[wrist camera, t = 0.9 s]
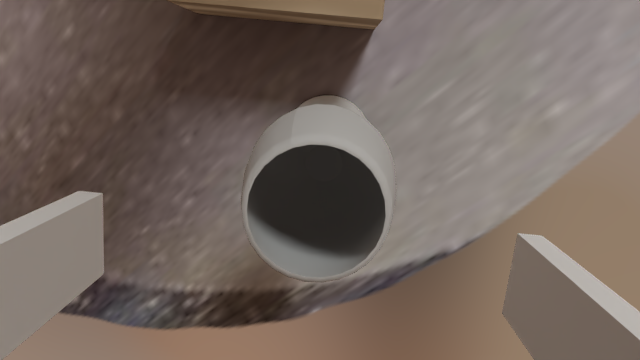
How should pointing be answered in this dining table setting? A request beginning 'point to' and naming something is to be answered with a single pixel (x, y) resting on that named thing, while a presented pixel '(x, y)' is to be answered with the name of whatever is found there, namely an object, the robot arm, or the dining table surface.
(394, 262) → the dining table surface
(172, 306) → the dining table surface
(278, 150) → the wineglass
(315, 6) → the tan wooden open box
